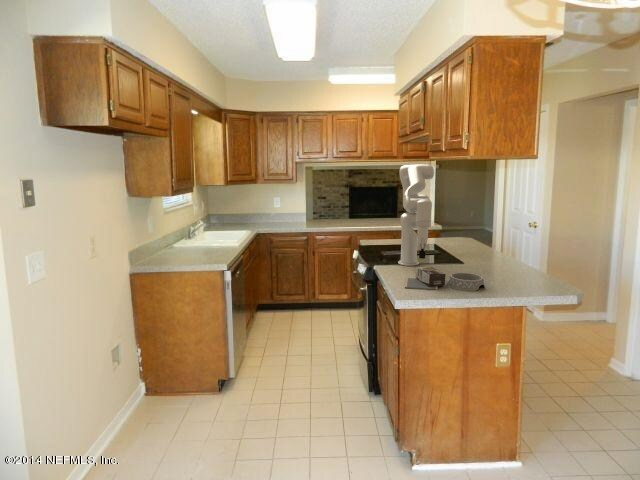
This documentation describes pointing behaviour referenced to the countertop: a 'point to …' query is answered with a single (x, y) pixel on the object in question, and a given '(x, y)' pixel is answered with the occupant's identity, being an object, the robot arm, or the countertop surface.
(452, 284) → the dog bowl
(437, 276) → the coffee box
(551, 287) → the countertop surface
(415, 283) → the mat
